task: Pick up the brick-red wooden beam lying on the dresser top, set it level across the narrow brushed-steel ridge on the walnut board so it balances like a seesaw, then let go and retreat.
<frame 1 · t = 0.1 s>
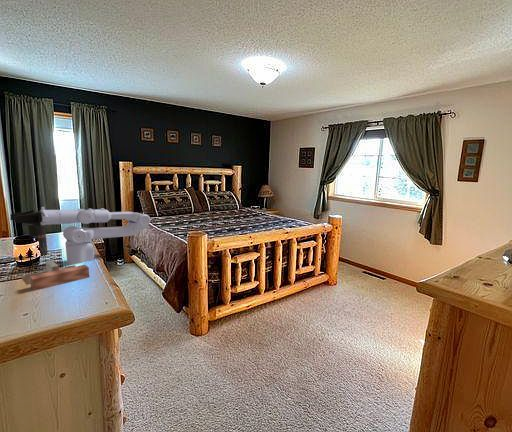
hand: (12, 218, 100), 22 cm above the table, tool horizontal, fingers open, 7 cm apart
ridge: (52, 273, 102), resting on base board
base board: (53, 276, 102), on the table
reddish brown wooden block: (62, 285, 95), on the table
deodorant: (39, 256, 128), on the table
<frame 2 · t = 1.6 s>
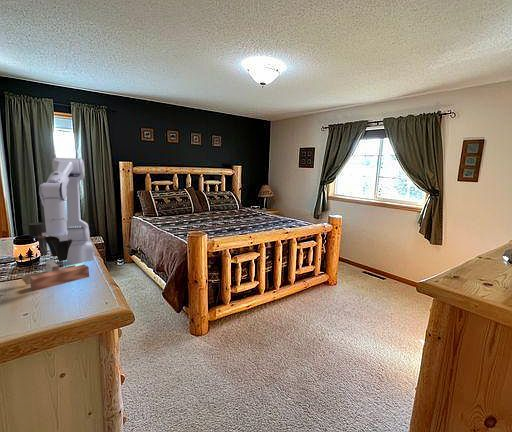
hand: (59, 258, 94), 9 cm above the table, tool pointing down, fingers open, 7 cm apart
nothing on the table moved.
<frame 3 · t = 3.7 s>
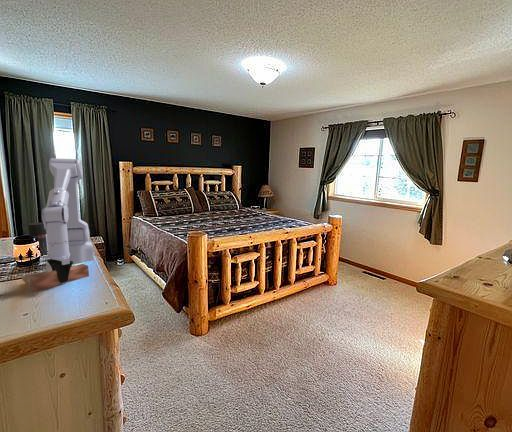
hand: (61, 280, 95), 2 cm above the table, tool pointing down, fingers closed on reddish brown wooden block, 4 cm apart
reddish brown wooden block: (62, 284, 95), on the table, touching gripper
everything else where it was.
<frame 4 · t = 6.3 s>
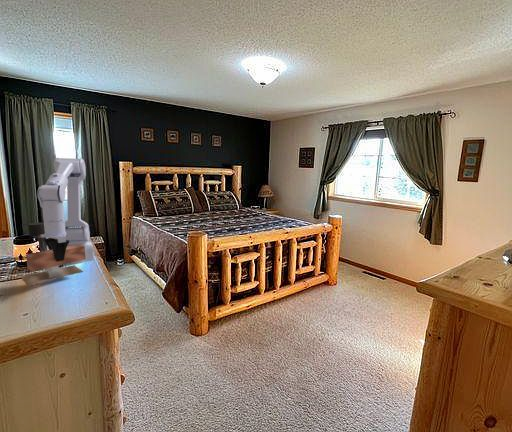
hand: (57, 259, 96), 9 cm above the table, tool pointing down, fingers closed on reddish brown wooden block, 4 cm apart
reddish brown wooden block: (58, 263, 96), point 7 cm above the table, touching gripper
everything else where it was.
when the fingers open (8 cm above the table, at t = 9.0 s): reddish brown wooden block stays where it is, resting on ridge.
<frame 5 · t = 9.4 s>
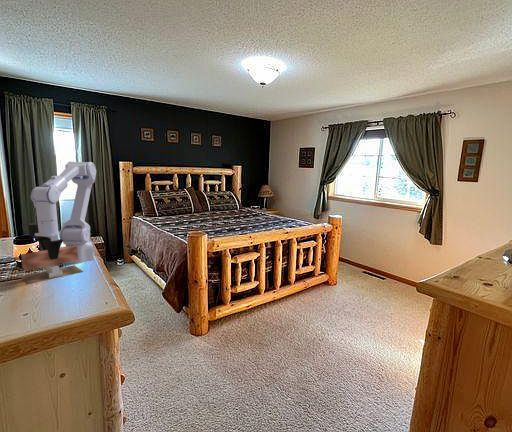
hand: (51, 256, 101), 8 cm above the table, tool pointing down, fingers open, 7 cm apart
reddish brown wooden block: (51, 263, 102), point 5 cm above the table, touching ridge
everything else where it was.
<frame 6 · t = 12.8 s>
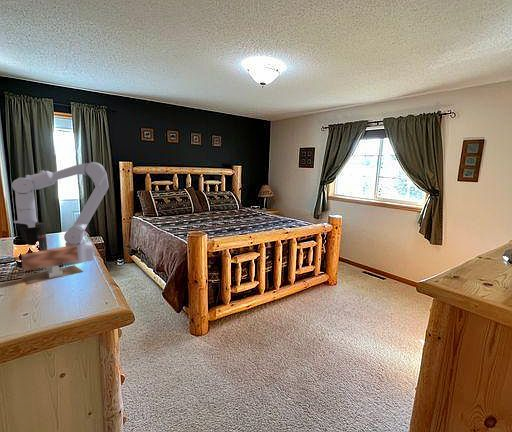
hand: (29, 243, 109), 10 cm above the table, tool pointing down, fingers open, 7 cm apart
nothing on the table moved.
at the end: reddish brown wooden block 0.0 cm from the target spot, point 5.0 cm above the table; reddish brown wooden block tilted 0°; the gripper is holding nothing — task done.
